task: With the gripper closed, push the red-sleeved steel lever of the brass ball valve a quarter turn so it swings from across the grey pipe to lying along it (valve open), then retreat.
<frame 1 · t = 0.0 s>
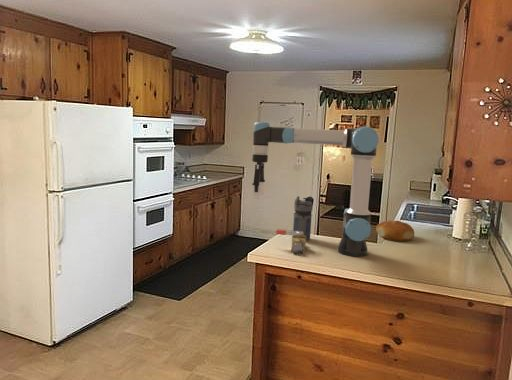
hand: (258, 196, 207), 28 cm above the worktop, fingers open, 13 cm apart
valve pipe: (298, 249, 218), on the worktop
beverage bottle: (302, 239, 241), on the worktop
lever: (289, 232, 218), point 8 cm above the worktop, hinge at 0.0°
bread: (393, 237, 254), on the worktop
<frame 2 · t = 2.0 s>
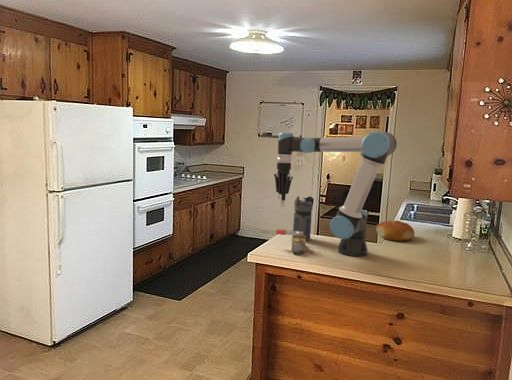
hand: (281, 206, 223), 21 cm above the worktop, fingers closed
nothing on the worktop moved.
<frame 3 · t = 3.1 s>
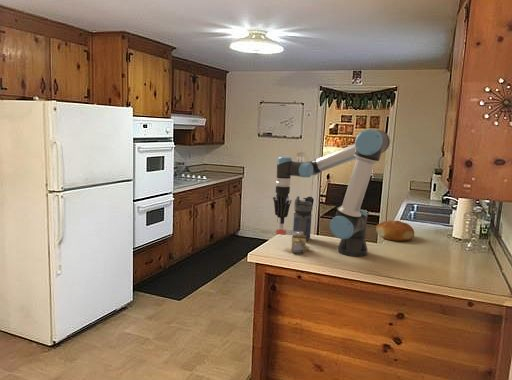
hand: (280, 229, 225), 9 cm above the worktop, fingers closed
nothing on the worktop moved.
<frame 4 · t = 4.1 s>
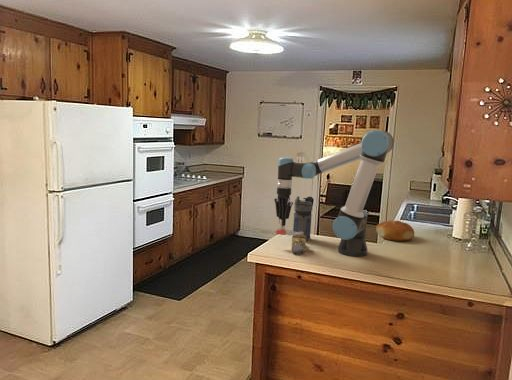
hand: (281, 231, 221), 8 cm above the worktop, fingers closed
lever: (289, 232, 218), point 8 cm above the worktop, hinge at 0.8°, touching gripper
everything else where it was.
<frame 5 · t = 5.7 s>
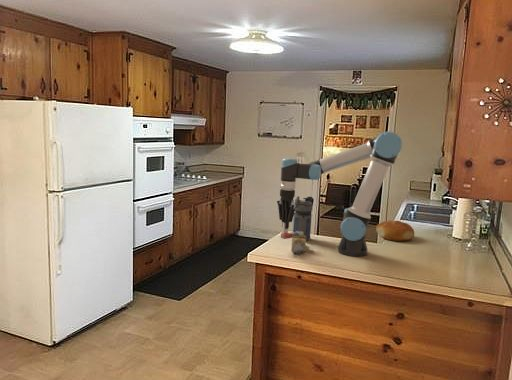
hand: (284, 234, 213), 9 cm above the worktop, fingers closed
lever: (292, 234, 214), point 8 cm above the worktop, hinge at 49.2°, touching gripper
everything else where it was.
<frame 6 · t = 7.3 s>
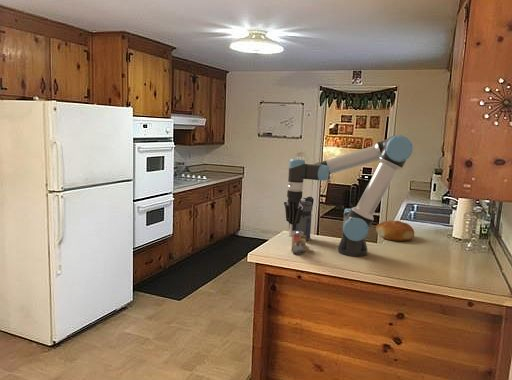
hand: (291, 236, 210), 9 cm above the worktop, fingers closed
lever: (298, 235, 212), point 8 cm above the worktop, hinge at 85.6°, touching gripper
everything else where it was.
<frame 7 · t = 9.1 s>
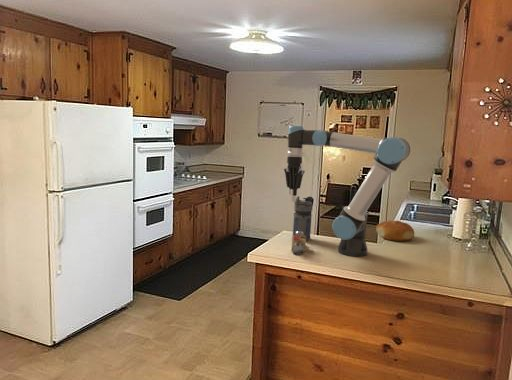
hand: (292, 201, 217), 25 cm above the worktop, fingers closed
lever: (298, 235, 212), point 8 cm above the worktop, hinge at 85.6°
everything else where it was.
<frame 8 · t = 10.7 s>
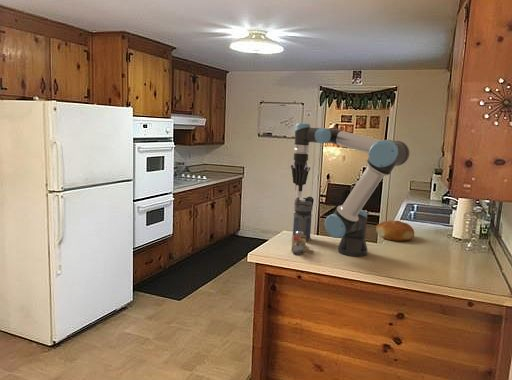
hand: (298, 197, 223), 26 cm above the worktop, fingers closed
nothing on the worktop moved.
at the end: lever at +86° (first picture: +0°); lever touching nothing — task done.
